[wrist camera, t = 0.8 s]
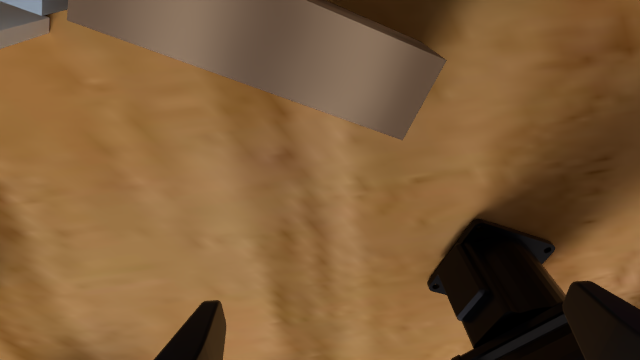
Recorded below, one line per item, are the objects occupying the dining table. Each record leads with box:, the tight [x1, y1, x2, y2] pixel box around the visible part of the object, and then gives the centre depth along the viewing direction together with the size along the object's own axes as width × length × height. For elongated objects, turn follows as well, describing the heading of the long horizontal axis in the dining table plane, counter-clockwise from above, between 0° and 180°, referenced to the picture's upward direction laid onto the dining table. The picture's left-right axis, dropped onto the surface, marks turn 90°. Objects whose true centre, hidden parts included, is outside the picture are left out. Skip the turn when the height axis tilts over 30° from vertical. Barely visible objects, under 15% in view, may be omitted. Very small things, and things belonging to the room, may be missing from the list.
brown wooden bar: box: [67, 0, 447, 140], centre depth 16 cm, size 14×4×4 cm, turn 68°
